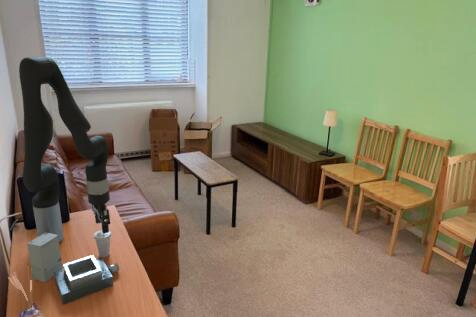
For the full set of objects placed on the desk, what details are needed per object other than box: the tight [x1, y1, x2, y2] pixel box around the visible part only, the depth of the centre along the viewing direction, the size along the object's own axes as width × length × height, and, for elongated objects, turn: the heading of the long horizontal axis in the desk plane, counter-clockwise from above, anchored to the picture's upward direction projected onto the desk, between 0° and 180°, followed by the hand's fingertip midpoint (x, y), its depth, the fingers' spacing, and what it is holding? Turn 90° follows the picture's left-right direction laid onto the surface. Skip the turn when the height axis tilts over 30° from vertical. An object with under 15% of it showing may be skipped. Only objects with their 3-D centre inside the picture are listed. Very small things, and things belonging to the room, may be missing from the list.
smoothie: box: [93, 229, 112, 258], centre depth 133 cm, size 6×6×14 cm
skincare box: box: [26, 233, 64, 284], centre depth 121 cm, size 8×6×15 cm
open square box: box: [53, 254, 120, 305], centre depth 119 cm, size 13×20×7 cm, turn 128°
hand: (102, 227), depth 131 cm, fingers open, 8 cm apart
